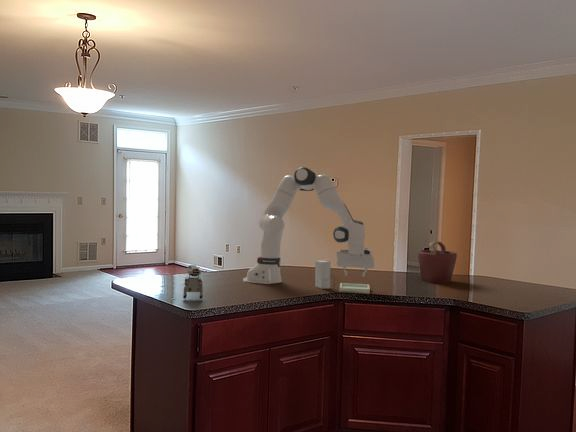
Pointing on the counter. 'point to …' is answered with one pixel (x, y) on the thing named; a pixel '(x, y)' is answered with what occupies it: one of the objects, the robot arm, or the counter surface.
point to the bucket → (436, 264)
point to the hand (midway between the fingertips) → (354, 275)
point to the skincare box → (322, 274)
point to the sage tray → (354, 288)
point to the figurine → (193, 281)
